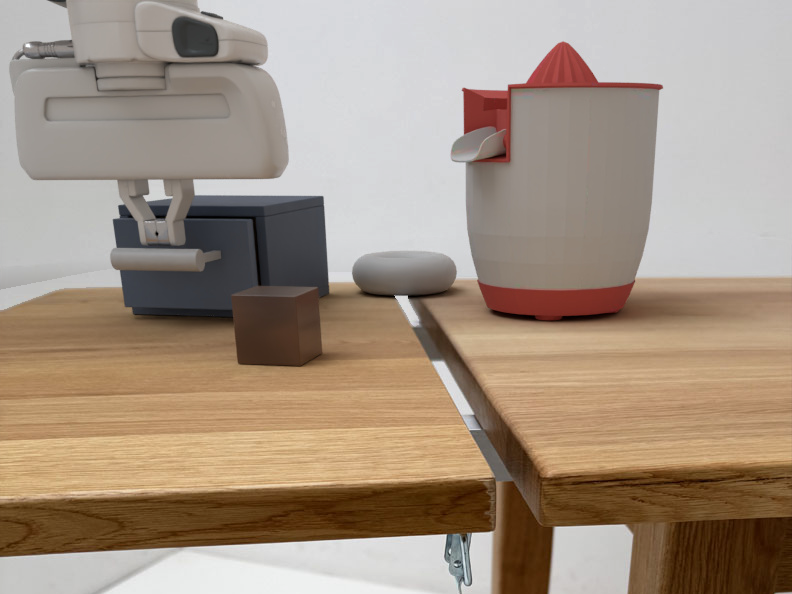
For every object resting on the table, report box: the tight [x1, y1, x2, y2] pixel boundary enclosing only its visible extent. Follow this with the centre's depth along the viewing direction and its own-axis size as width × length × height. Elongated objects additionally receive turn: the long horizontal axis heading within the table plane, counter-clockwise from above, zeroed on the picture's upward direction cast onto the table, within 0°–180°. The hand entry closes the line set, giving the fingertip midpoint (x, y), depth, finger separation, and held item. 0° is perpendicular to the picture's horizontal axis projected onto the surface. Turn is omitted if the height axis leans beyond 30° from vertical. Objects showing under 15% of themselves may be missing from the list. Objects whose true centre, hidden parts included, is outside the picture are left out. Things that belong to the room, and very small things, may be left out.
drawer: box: [109, 216, 261, 310], centre depth 85 cm, size 18×11×7 cm, turn 168°
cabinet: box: [117, 194, 330, 318], centre depth 90 cm, size 15×13×9 cm
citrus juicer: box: [450, 40, 664, 321], centre depth 82 cm, size 16×17×20 cm
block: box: [231, 286, 323, 367], centre depth 68 cm, size 4×4×4 cm
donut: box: [351, 250, 458, 297], centre depth 97 cm, size 10×4×10 cm
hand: (163, 245), depth 78 cm, fingers closed
